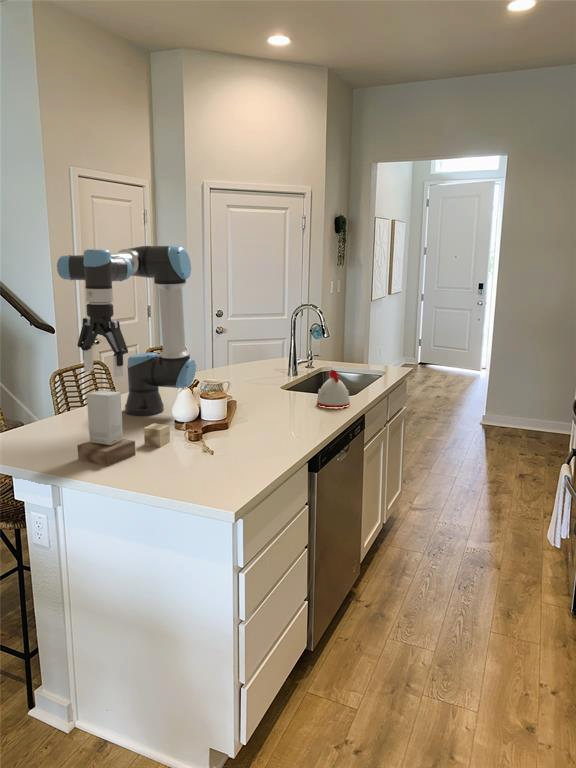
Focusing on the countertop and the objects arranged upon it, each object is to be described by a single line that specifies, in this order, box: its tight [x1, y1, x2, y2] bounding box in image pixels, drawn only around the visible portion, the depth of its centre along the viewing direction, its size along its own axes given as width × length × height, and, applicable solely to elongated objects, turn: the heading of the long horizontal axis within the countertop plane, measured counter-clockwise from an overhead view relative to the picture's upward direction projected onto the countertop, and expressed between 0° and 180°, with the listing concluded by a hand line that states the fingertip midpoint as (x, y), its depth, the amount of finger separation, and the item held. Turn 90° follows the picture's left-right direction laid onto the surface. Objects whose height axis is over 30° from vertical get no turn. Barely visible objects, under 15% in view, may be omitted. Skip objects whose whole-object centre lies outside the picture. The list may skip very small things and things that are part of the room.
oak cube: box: [143, 422, 171, 448], centre depth 195 cm, size 6×6×6 cm
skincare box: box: [86, 390, 124, 445], centre depth 180 cm, size 8×7×16 cm
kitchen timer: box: [316, 369, 350, 407], centre depth 249 cm, size 14×14×15 cm
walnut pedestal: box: [77, 438, 136, 468], centre depth 181 cm, size 12×12×5 cm
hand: (103, 373), depth 177 cm, fingers open, 13 cm apart
